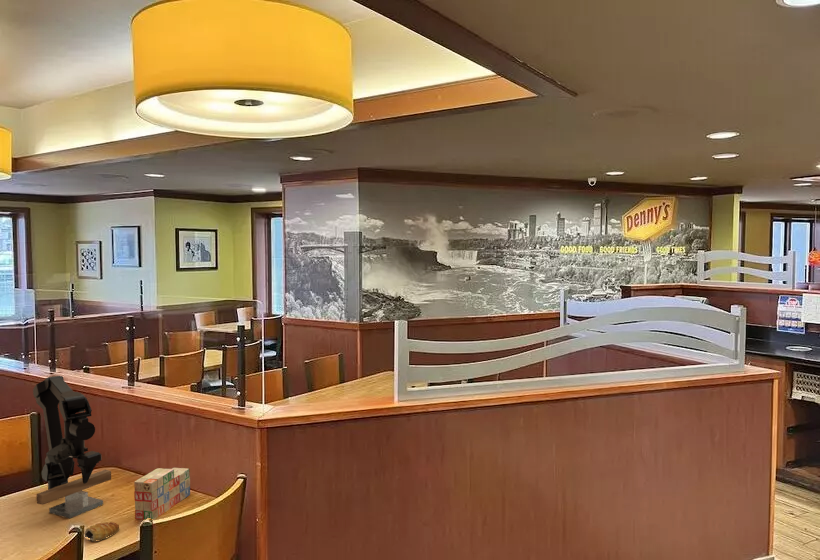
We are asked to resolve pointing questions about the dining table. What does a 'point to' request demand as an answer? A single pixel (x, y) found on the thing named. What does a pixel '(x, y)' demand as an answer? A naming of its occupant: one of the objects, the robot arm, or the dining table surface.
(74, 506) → the fulcrum stand
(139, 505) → the stack of blocks
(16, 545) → the dining table surface
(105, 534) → the pastry
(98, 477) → the walnut rod
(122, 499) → the dining table surface
